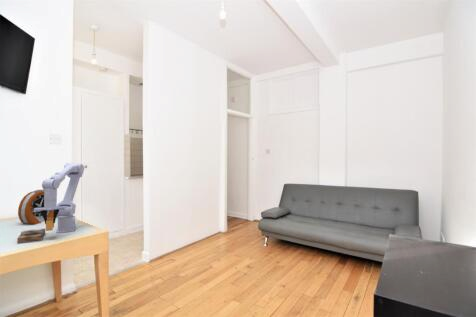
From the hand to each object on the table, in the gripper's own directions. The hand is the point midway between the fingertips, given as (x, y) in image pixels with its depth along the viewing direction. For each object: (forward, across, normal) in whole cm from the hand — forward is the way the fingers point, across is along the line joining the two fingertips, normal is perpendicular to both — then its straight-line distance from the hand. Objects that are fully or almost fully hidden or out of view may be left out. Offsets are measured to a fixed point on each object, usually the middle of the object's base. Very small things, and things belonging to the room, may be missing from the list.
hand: (50, 223), depth 139 cm
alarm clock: (+9, -11, +46) cm, 48 cm away
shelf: (+9, -8, +4) cm, 13 cm away
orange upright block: (+3, 0, 0) cm, 3 cm away
